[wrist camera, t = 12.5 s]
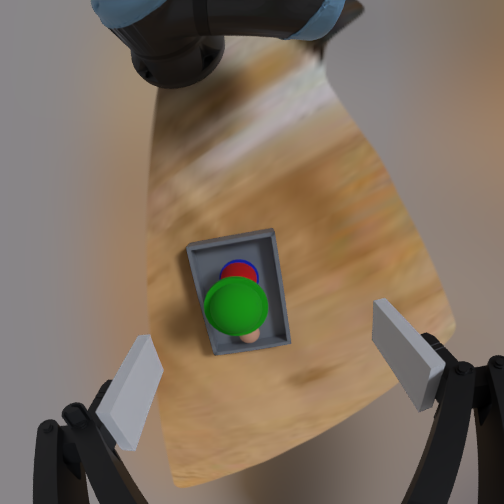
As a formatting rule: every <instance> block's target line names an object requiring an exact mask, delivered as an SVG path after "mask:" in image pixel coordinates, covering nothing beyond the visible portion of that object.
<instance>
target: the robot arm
mask: <svg viewBox="0 0 504 504" xmlns="http://www.w3.org/2000/svg"><path fill="white" fill-rule="evenodd" d="M344 3H345V0H91V5H92V8H93V10H94V12H95V13H96V14H97V15H98V16H99V18H100V20H101V22H102V24H104V25H105V26H106V27H107V28H108V29H110V30H111V31H112V32H113V33H114V34H115V35H116V36H117V37H118V38H119V39H120V40H121V41H122V42H123V43H124V44H125V45H127V46H128V47H129V48H130V49H131V56H132V63H133V65H134V68H135V69H136V71H137V73H138V74H139V75H140V76H141V77H142V78H143V79H144V80H146V81H147V82H148V83H150V84H152V85H154V86H157V87H161V88H169V89H172V88H181V87H185V86H189V85H192V84H194V83H196V82H198V81H200V80H202V79H203V78H205V77H206V76H207V75H209V74H210V73H211V72H212V71H213V70H214V69H215V68H216V66H217V65H218V64H219V62H220V60H221V58H222V56H223V53H224V49H225V40H224V36H259V37H274V38H279V39H281V40H290V39H299V40H315V39H318V38H321V37H323V36H324V35H326V34H327V33H328V32H329V31H330V30H331V29H332V27H333V26H334V24H335V23H336V21H337V19H338V17H339V15H340V13H341V11H342V9H343V6H344ZM372 340H373V342H374V343H375V345H376V346H377V348H378V349H379V351H380V352H381V354H382V355H383V357H384V358H385V360H386V362H387V363H388V365H389V366H390V368H391V369H392V371H393V372H394V374H395V375H396V377H397V378H398V380H399V382H400V383H401V385H402V386H403V388H404V389H405V391H406V393H407V394H408V396H409V397H410V399H411V401H412V402H413V404H414V405H415V407H416V409H417V410H418V412H421V411H424V410H426V409H428V408H431V407H432V406H433V403H434V400H435V399H436V400H437V402H438V403H439V405H438V408H437V410H436V413H435V415H434V421H433V425H432V428H431V431H430V434H429V437H428V440H427V443H426V446H425V449H424V451H423V454H422V457H421V460H420V462H419V465H418V467H417V470H416V472H415V474H414V477H413V479H412V481H411V484H410V486H409V488H408V490H407V492H406V495H405V497H404V499H403V501H402V503H401V504H447V503H448V500H449V497H450V494H451V492H452V489H453V486H454V482H455V479H456V476H457V473H458V469H459V466H460V462H461V458H462V454H463V450H464V446H465V441H466V437H467V432H468V427H469V421H470V415H471V409H472V408H473V409H474V416H475V425H476V434H477V446H478V447H477V448H478V472H479V474H478V475H479V476H478V481H479V482H478V504H504V356H501V355H496V356H493V357H491V358H490V359H489V361H488V364H487V365H486V366H481V367H474V366H473V365H472V364H470V363H468V362H464V361H461V362H458V361H457V359H456V358H455V357H454V356H453V355H452V354H451V353H450V352H449V351H448V350H447V349H446V348H445V347H444V346H443V345H442V344H441V343H440V342H439V340H438V339H437V338H436V337H435V336H433V335H431V334H429V333H427V332H426V333H423V334H419V333H418V332H417V331H416V330H415V329H414V328H413V327H412V326H411V325H410V323H409V322H408V321H407V320H406V319H405V318H404V317H403V316H402V315H401V314H400V313H399V312H398V311H397V310H396V309H395V308H394V307H393V306H392V305H391V304H390V303H389V302H388V301H387V300H386V298H383V299H379V300H374V301H373V329H372ZM163 371H164V370H163V368H162V365H161V363H160V360H159V358H158V355H157V352H156V350H155V347H154V345H153V342H152V339H151V336H150V334H149V335H139V336H138V337H137V339H136V341H135V342H134V344H133V345H132V347H131V349H130V351H129V353H128V354H127V356H126V358H125V359H124V361H123V363H122V365H121V366H120V368H119V370H118V372H117V374H116V375H115V377H114V379H113V380H107V381H106V382H105V383H104V384H103V385H102V386H101V388H100V390H99V392H98V394H97V395H96V397H95V399H94V400H93V402H92V404H91V406H90V407H89V409H88V411H87V409H86V408H85V406H84V405H83V404H82V403H77V402H75V403H72V404H70V405H68V406H66V407H65V408H64V409H63V411H62V418H63V419H64V420H65V422H66V423H67V426H59V425H58V423H57V422H56V421H55V420H52V419H51V420H46V421H44V422H43V423H41V424H40V425H39V427H38V431H37V438H36V448H35V458H34V474H33V504H90V503H89V497H88V490H87V482H86V474H87V476H88V479H89V481H90V484H91V486H92V488H93V490H94V492H95V495H96V497H97V499H98V501H99V503H100V504H148V502H147V501H146V499H145V498H144V496H143V495H142V493H141V492H140V490H139V489H138V487H137V485H136V484H135V482H134V481H133V479H132V478H131V476H130V474H129V472H128V471H127V469H126V467H125V466H124V464H123V462H122V461H121V459H120V457H119V455H118V453H117V451H116V450H115V449H114V448H115V445H116V443H117V444H118V445H119V447H120V448H121V449H122V450H130V451H135V450H136V447H137V444H138V441H139V438H140V436H141V433H142V430H143V426H144V424H145V421H146V418H147V415H148V412H149V409H150V407H151V403H152V401H153V398H154V395H155V393H156V390H157V387H158V384H159V381H160V379H161V376H162V373H163ZM85 472H86V473H85Z"/></svg>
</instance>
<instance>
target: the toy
mask: <svg viewBox="0 0 504 504" xmlns="http://www.w3.org/2000/svg"><path fill="white" fill-rule="evenodd" d="M258 283H259V274H258V271H257V269H256V267H255V266H254V265H253V264H252V263H250V262H248V261H246V260H243V259H235V260H232V261H230V262H228V263H227V264H225V265H224V267H223V268H222V270H221V272H220V276H219V281H217V282H216V283H215V284H214V285H212V287H211V288H210V289H209V290H208V292H207V295H206V297H205V301H204V312H205V315H206V318H207V320H208V322H209V323H210V324H211V325H212V326H213V327H214V328H215V329H216V330H218V331H219V332H221V333H224V334H227V335H231V336H243V335H247V334H250V333H252V332H254V331H256V330H257V329H258V328H259V327H260V326H261V325H262V324H263V323H264V321H265V319H266V317H267V314H268V301H267V297H266V294H265V292H264V291H263V289H262V288H261V287H260V286H259V285H258Z"/></svg>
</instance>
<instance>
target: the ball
mask: <svg viewBox="0 0 504 504" xmlns="http://www.w3.org/2000/svg"><path fill="white" fill-rule="evenodd" d="M259 335H260V331H259V328H258V329H257V330H256V331H254V332H252V333H250V334H247V335H243V336H239V337H240V339H241V340H242V341H243V342H245V343H253V342H255V341H256V340H257V339H258V338H259Z"/></svg>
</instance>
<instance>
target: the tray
mask: <svg viewBox="0 0 504 504" xmlns="http://www.w3.org/2000/svg"><path fill="white" fill-rule="evenodd" d="M186 250H187V254H188V258H189V262H190V267H191V271H192V275H193V279H194V283H195V287H196V291H197V295H198V298H199V302H200V306H201V310H202V314H203V317H204V321H205V325H206V328H207V332H208V335H209V339H210V342H211V346H212V349H213V353H214V355H223V354H230V353H237V352H244V351H251V350H258V349H264V348H270V347H276V346H281V345H287V344H291V338H290V330H289V323H288V316H287V309H286V302H285V295H284V289H283V282H282V275H281V269H280V262H279V256H278V250H277V243H276V237H275V231H274V229H273V228H269V229H264V230H258V231H252V232H246V233H241V234H235V235H230V236H224V237H219V238H213V239H208V240H202V241H197V242H192V243H189V244H188V246H187V247H186ZM235 259H243V260H246V261H248V262H250V263H252V264H253V265H254V266H255V267H256V269H257V271H258V274H259V283H258V285H259V286H260V287H261V288H262V289H263V291H264V292H265V294H266V297H267V301H268V314H267V317H266V319H265V321H264V323H263V324H262V325H261V326H260V327H259V331H260V335H259V338H258V339H257V340H256V341H255V342H253V343H245V342H243V341H242V340H241V339H240V337H239V336H231V335H227V334H224V333H221V332H219V331H218V330H216V329H215V328H214V327H213V326H212V325H211V324H210V323H209V322H208V320H207V318H206V315H205V312H204V301H205V297H206V295H207V292H208V290H209V289H210V288H211V287H212V285H214V284H215V283H216V282H217V281H219V276H220V272H221V270H222V268H223V267H224V265H225V264H227V263H228V262H230V261H232V260H235Z"/></svg>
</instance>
